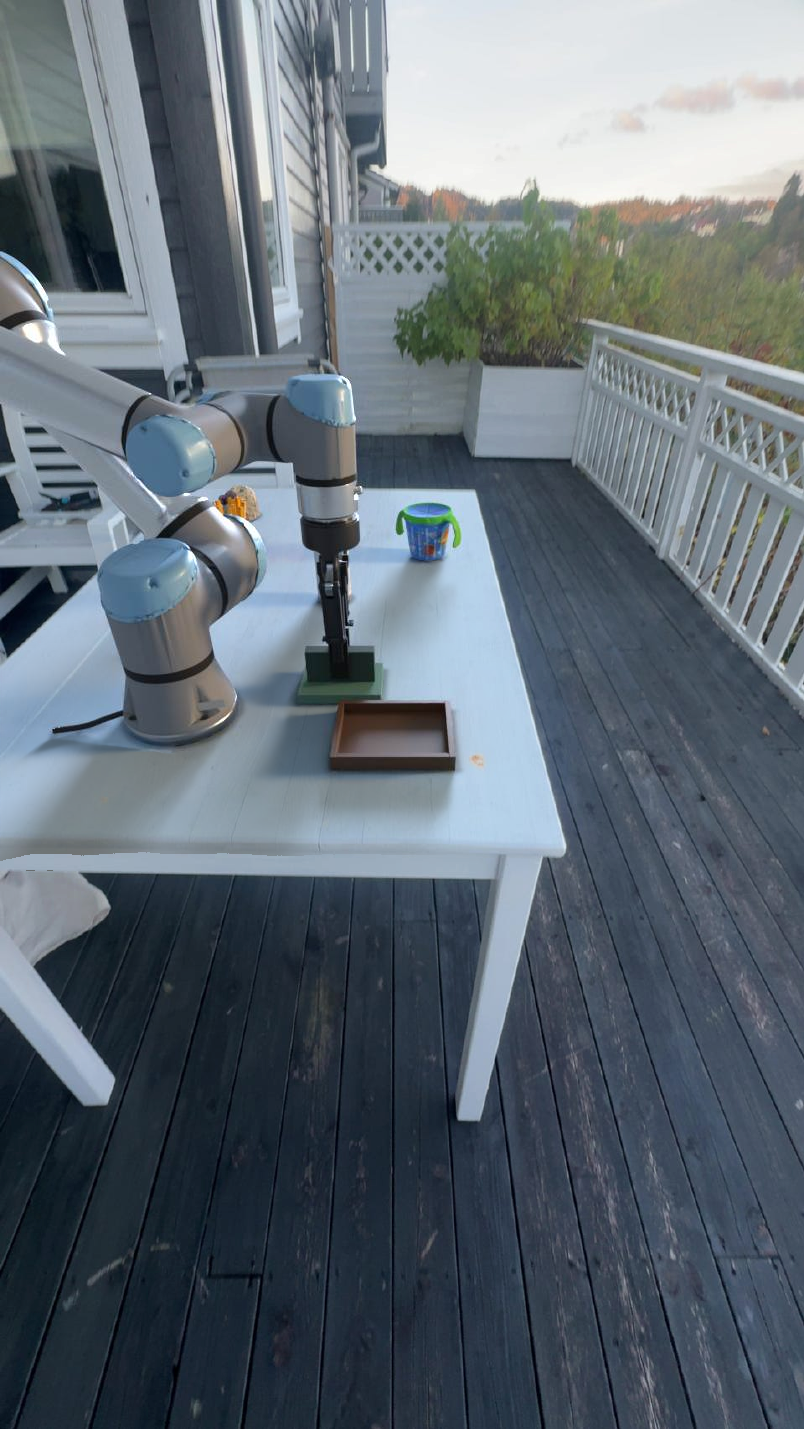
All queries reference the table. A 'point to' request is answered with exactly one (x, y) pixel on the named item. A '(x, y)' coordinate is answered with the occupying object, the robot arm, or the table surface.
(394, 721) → the back frame
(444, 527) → the snack cup
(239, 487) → the sponge
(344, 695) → the back pad
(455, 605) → the table surface
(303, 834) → the table surface
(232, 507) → the french fries container
